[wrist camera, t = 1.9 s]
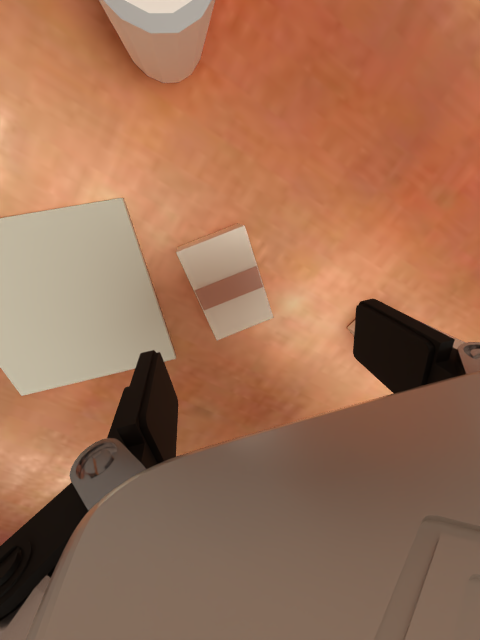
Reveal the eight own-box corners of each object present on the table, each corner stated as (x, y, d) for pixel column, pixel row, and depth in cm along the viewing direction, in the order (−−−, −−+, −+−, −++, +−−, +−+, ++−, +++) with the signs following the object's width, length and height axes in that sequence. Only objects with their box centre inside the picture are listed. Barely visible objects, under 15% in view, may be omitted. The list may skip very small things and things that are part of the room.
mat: (176, 356, 27) (175, 358, 27) (24, 392, 25) (21, 395, 25) (123, 198, 20) (122, 197, 20) (-91, 234, 18) (-98, 234, 18)
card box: (263, 304, 27) (274, 318, 24) (213, 325, 27) (217, 341, 23) (237, 223, 23) (245, 225, 19) (177, 246, 23) (175, 252, 19)
